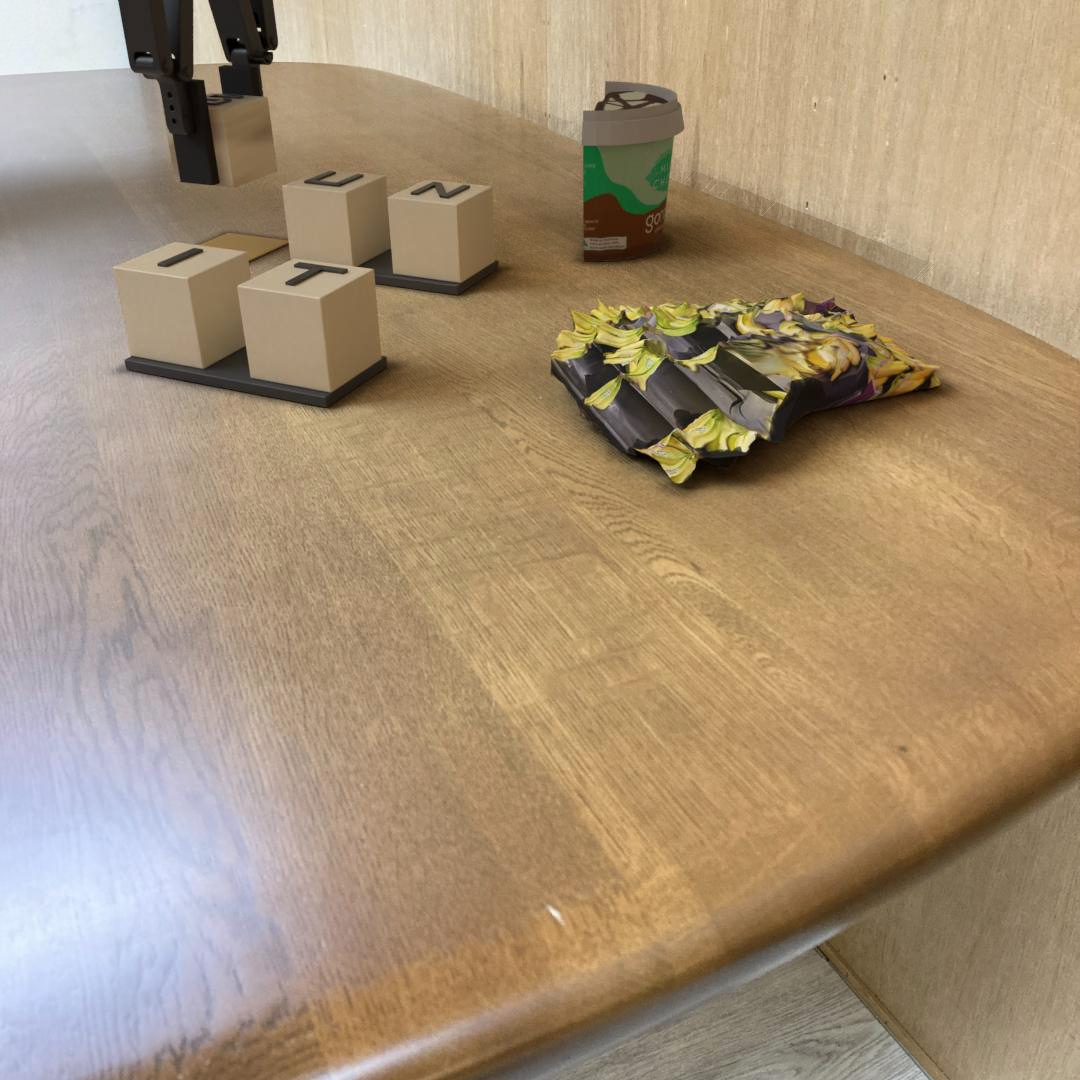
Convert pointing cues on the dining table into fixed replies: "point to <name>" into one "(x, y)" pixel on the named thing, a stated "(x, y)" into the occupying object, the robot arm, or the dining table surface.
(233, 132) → the tile
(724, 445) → the banana patterned fabric
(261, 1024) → the dining table surface
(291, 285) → the front word
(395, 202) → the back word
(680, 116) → the food container
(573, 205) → the dining table surface
